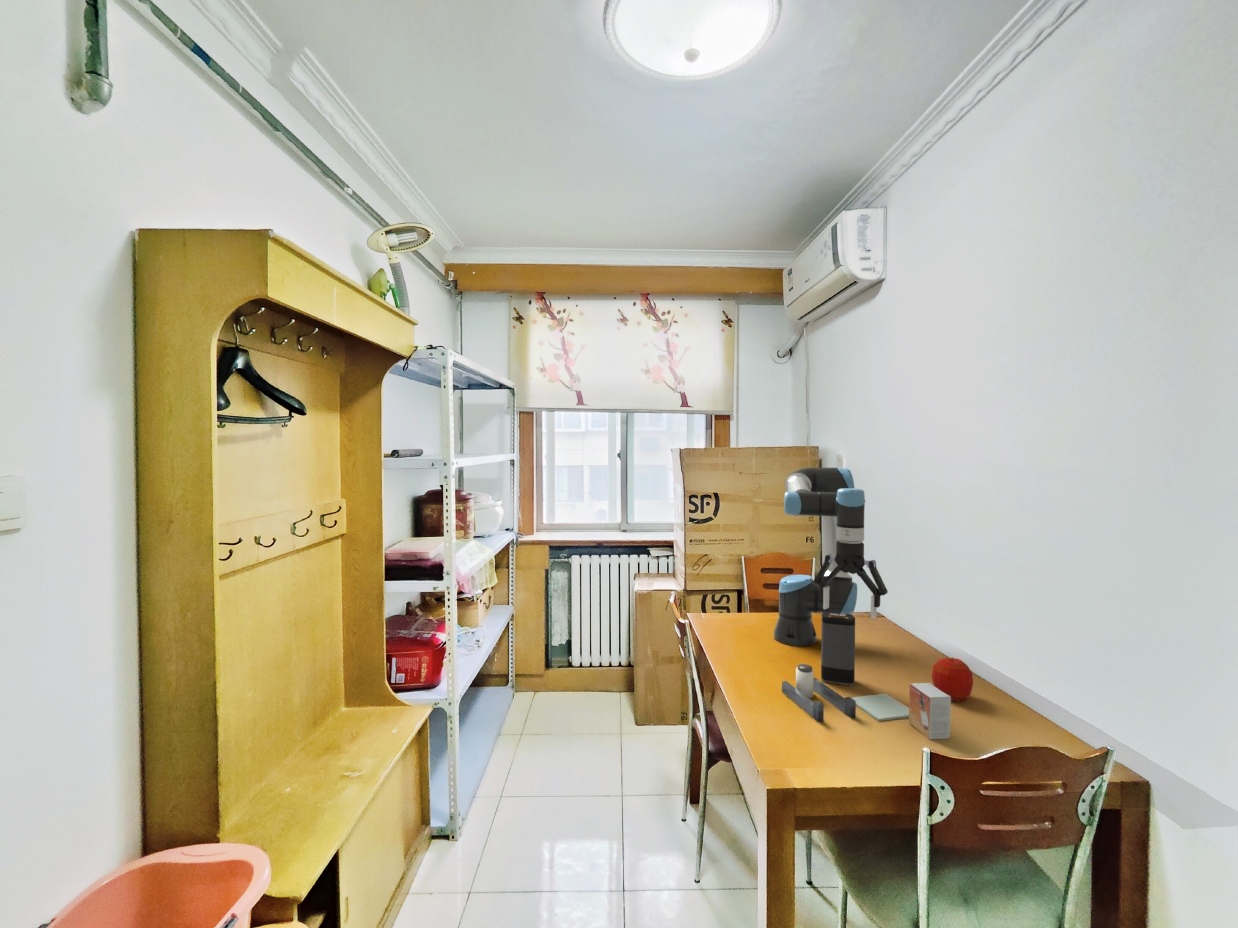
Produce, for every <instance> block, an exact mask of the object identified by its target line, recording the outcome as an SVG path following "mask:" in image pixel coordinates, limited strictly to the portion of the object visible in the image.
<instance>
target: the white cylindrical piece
mask: <svg viewBox="0 0 1238 928" xmlns="http://www.w3.org/2000/svg"><path fill="white" fill-rule="evenodd" d="M814 672H815V670H814V669H813V667H812V666H811V665H809V664H805V663H799V664H798V665H797V666H796V668H795V688H796V689H797V690H799V691H800V692H801V693H802V694H804V695H805V696H806V697H807V698H809V699H812V698H813V697H814V678H815V677H814V674H815V673H814Z"/></svg>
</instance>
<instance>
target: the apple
mask: <svg viewBox="0 0 1238 928" xmlns="http://www.w3.org/2000/svg"><path fill="white" fill-rule="evenodd" d="M973 677H974V676H973V671H972V670H971V669H970V667H969V666H968V665H967V664H966V663H965V662H964V661H962V660H961V659H959V658H956V657H955V658H954V657H943V658H941V659H938V660H937V661H936V662H935V663H934V664H933V665H932V671H931V679H932V680H931V681H932V685H933V686H935V687H936V688H938V689H939V690H941V691H942V692H944V693H945V694H947V695H949V696H950V697H951V701H958V702H959V701H962V700H964V699H966V698H968V697H970V696H971V694H972V693H971V692H972V690H973V686H974V678H973Z"/></svg>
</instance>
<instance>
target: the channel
mask: <svg viewBox="0 0 1238 928" xmlns="http://www.w3.org/2000/svg"><path fill="white" fill-rule="evenodd" d="M781 692H782V693H783V694H784V695H785V696H786V697H788V698H789V699H790V700H791V701H792V702H793V703H795V704H796V705H797V706H798V707H800V709H802V710H803V711H804V712H805V713H806V714H808V715H809V716H810V717H811V718H812V719H814V720H815V721H816V722H817V723H823V722H824V720H825V719H824V717H825V715H824V713H825V712H824V710H825V709H824V708H825V707H824V704H823V703H822V702H821V701H820V700H813V701H812V699H811V698H807V697H806V696H805V695H804V694H802V693H801V692H800V691H799V690H797V689H796V686H794V685H792V684H791V683H789V682H788V681H787V680H782V681H781ZM813 692H815V693H816V694H818V695H819V696H820V697H821V698H822V699H825V701H827V702H828V703H829V704H831V705H832V706H833V707H835V708H836V709H838V710H839V711H840V712H842V713H843V714H844V715H846V716H847V717H848V718H850V719H854V718H857V716H856V713H857V712H856V711H857V710H856V709H857V708H856V707H857V706H856V701H855V700H854V699H852V698H853V697H851V696H847V697H843V696H842V695H841V694H839V693H838V692H836V691H835V690H834V689H832V688H831V687H829V686H828V685H826V684H825V682H824V683H823V681H822V680H820V679H818V678H816V677H814V690H813Z"/></svg>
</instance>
